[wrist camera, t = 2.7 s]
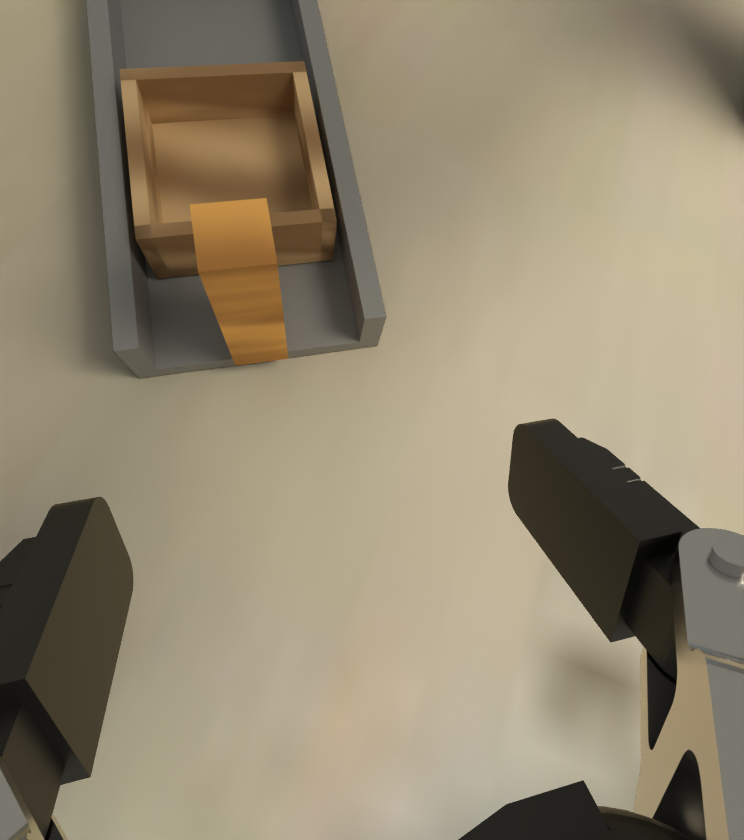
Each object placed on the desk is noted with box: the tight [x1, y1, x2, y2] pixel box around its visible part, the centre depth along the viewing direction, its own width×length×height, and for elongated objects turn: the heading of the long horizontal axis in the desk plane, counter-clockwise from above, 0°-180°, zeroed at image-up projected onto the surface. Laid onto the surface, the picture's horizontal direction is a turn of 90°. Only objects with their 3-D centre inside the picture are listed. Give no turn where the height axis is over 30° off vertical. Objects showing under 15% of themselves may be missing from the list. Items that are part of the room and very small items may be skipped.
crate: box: [120, 61, 337, 366], centre depth 26 cm, size 17×10×10 cm, turn 11°
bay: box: [86, 0, 386, 378], centre depth 31 cm, size 30×14×4 cm, turn 11°
